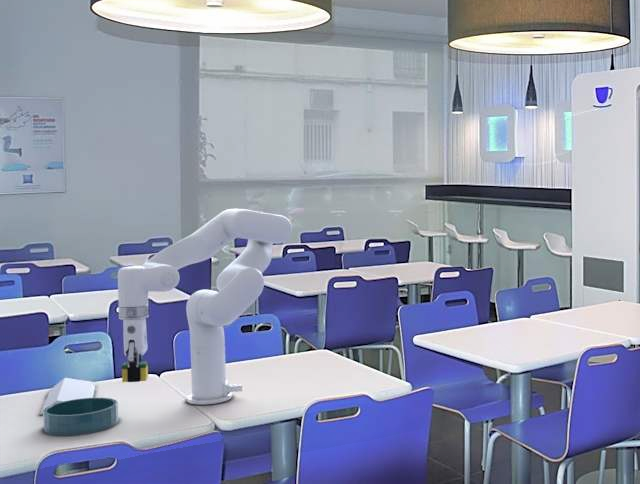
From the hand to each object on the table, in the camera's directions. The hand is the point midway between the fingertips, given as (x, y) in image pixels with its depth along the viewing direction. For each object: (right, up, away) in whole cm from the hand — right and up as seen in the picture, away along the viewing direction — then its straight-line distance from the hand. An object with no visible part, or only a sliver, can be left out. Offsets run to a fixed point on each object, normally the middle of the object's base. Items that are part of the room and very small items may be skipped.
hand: (135, 378), depth 237 cm
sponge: (0, 0, 0) cm, 0 cm away
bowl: (-11, -10, -8) cm, 17 cm away
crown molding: (-26, -10, +18) cm, 33 cm away
